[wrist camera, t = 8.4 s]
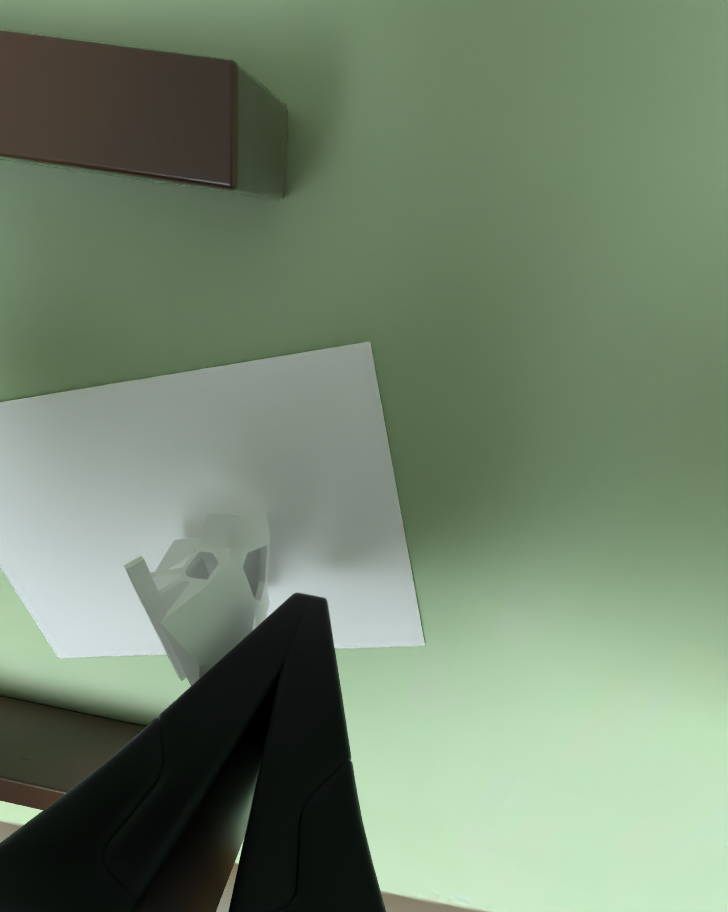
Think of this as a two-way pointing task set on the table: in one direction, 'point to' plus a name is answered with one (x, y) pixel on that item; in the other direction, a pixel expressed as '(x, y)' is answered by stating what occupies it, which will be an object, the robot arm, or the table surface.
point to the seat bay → (138, 157)
